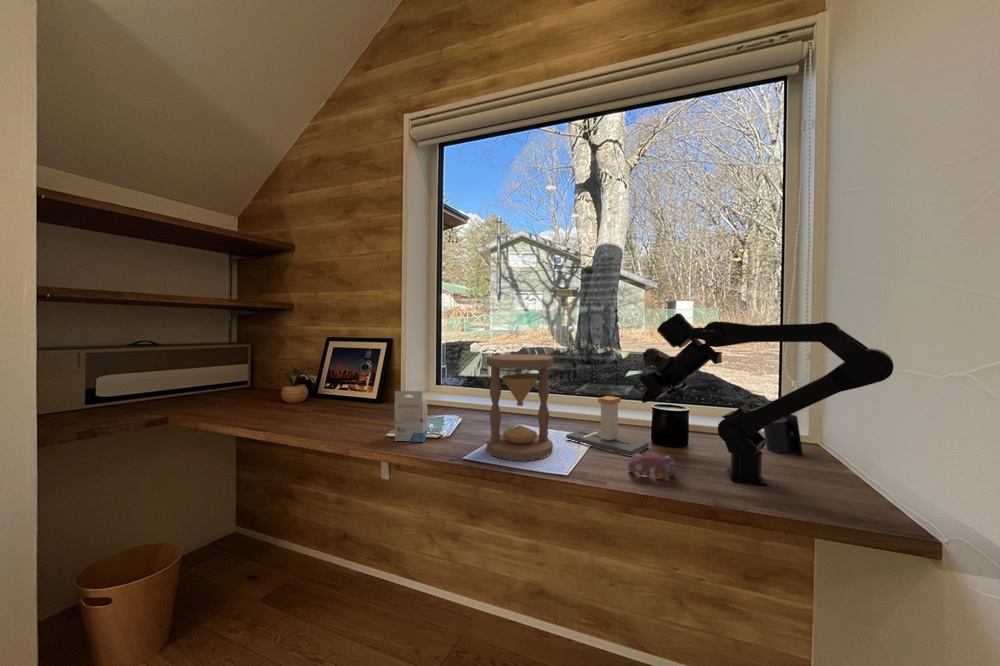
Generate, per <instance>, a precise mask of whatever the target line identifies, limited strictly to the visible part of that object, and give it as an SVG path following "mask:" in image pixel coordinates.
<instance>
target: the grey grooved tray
mask: <svg viewBox="0 0 1000 666" xmlns="http://www.w3.org/2000/svg"><path fill="white" fill-rule="evenodd" d="M565 436H566V437H565V439H566V438H568V439H571V440H575V441H578V442H582V443H586V444H589V445H592V446H595V447H599V448H603V449H607V450H612V451H615V452H619V453H623V454H628V455H633V454H635V453H637V452H639V451H641V450H643V449H645V448H647V447H649V446H650V445H649V443H650V442H647V441H643V440H638V439H636V438H635V439H634V438H629V437H625V436H620V435H618V438H616V439H613V440H611V441H610V440H606V439H601V431H599V430H595V429H590V428H586V427H585V428H582V429H579V430H576V431H573V432H571V433H568V434H565ZM595 447H594V448H595ZM599 448H598V449H599Z"/></svg>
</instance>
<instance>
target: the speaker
mask: <svg viewBox="0 0 1000 666" xmlns="http://www.w3.org/2000/svg"><path fill="white" fill-rule="evenodd" d="M798 420H799V419H798V416H797V415H794V414H790V415H788V416H786V417H784V418H782V419H779V420H777V421H775V422H773V423H771V424H768V425H767V426H766V427H764V428H763V432H764V438H765V439H766V440H767V442H766V444H765V446H766V450H767V451H768V452H770V451H771V453H776V454H788V453H790V452H792V453H794V454H796V455H797V454H798V456H799V457H804V454H803V448H802V442H801V441H802V439H801V434H800V428H799V421H798Z"/></svg>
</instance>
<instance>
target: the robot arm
mask: <svg viewBox="0 0 1000 666" xmlns="http://www.w3.org/2000/svg"><path fill="white" fill-rule="evenodd" d="M656 332H657V333H658V334H659V335H660V336H661V337H662V338H663V339H664V340H665V341H666V342H667V343H668V344H669V345H670V346H671V347H672V348H677V347H678V348H679V349H681V348H682V349H681V350H680V351H679V352H678V353H677V354H676V355H673V356H672V355H671V356H670V355H669V354H667V353H665V352H663V351H661V350H659V349H657V348H654V347H651V348H649V347H648V348H647V349H645V351H643V352H642V357H643V358H642V361H643V362H645V363H649V364H650V365H652V366H654V367H655V371H651V370H650V371H645V372H643V373H642V374H640V376H638V380H639V381H640V383H641V384H642V385H643V386H644V387H645V388H646V390H645V392H644V394H643V395H642V398H641V399H640V401H641V402H642V403H643V404H645V403H648V402H651V401H654V400H657V399H661V398H664V397H666V396H670V395H673V394H675V393H676V391H675V389H676V388H679V390H680V391H684V390H686V389H687V388H689V387H690V386H691V379H690V378H691V377H694V376H695V375H697V372H698V371H699V370H700V369H701V368H702V367H704V366H705V365H706V364H707V363H708V362H710V361H711V362H712V363H713V364H715V365H719V364H722V363H723V360H722V355H723V351H716V350H715V349H713V348H720V347H728V346H734V345H743V344H748V343H821V344H822V345H824V346H825V347H826V348H827V349H828V350H829V351H831V352H832V353H833V354H835V355H836V356H837V357H838V358H839V359H840V360H841V361H843V362H841V363H840V364H838V366H836V367H835V368H834V369H832V370H830V371H829V372H827V373H826V374H825V375H823V376H821V377H818V378H816V379H815V380H812V381H810V382H809V383H807V384H805V385H803V386H800V387H798V388H797V389H794V390H792V391H791V392H788V393H786V394H784V395H782V396H780V397H778V398H775V399H774V400H772V401H770V402H768V403H765V404H764V405H762V406H758V407H754V408H750V407H749V405H748V404H747V403H746V404H744V405H742V406H740V407H738V408H737V409H736V410H734V411H733V410H731V411H729V412H727V413H726V414H724V415H722V418H723V419H722V420H721V421H720V422H718V425H717V434H718V435H719V438H721V440H722V441H723V442H724V444H725V446H726V448H727V451H728V453H730V468H726V469H725V470H726V474H727V475H728V478H729V479H730V481H731V482H734V483H741V484H749V485H755V486H756V485H758V486H766V487H767V486H768V482H767V481H766V479H765V478H764V477H763V476H762V475H763V473H762V472H763V471H762V470H763V452H762V451H761V450H763V449H764V448H765V446H766V442H767V440H766V439H765V436H763V435H762V434H761V433H760V431H762V430H764V427H766V426H767V425H768V424H771V423H773V422H775V421H777V420H779V419H782V418H784V417H786V416H788V415H790V414H792V415H794V413H797V412H799V411H801V410H803V409H806V408H807V407H810V406H812V405H815V404H817V403H819V402H821V401H822V400H825V399H828V398H830V397H831V396H834V395H836V394H839V393H841V392H844V391H850V390H855V389H858V388H863V387H865V386H866V387H867V386H871V385H873V384H877V383H881V382H884V381H885V380H886V379H888V378H890V377H891V375H892V374H893V371H894V361H893V359H892V357H891V356H890V355H889V354H888V353H887V352H885V351H883V350H880V349H877V348H869V347H868V346H866V345H865V344H864V343H862V342H861V341H859V340H858V339H856V338H854V337H853V336H851V335H850V334H849V333H847V332H846V331H844V330H843V329H841V327H840V326H839V325H837V324H836V323H833V322H832V321H831V322H829V321H823V322H822V321H821V322H819V323H793V324H792V323H790V324H789V323H787V324H756V325H755V324H747V323H740V322H732V321H731V322H730V321H715V320H714V321H711V322H708V323H707V324H706V325H705V326H704V327H694V326H693V325H692V324H691V323H690V322H689V321H688V320H687V319H686V318H685V316H684V315H683V314H682V313H677V312H676V313H675V314H673V316H671V317H669V318H668V319H666V320H665V321H662V322H661V324H660V325H659V326H658V327H657V329H656ZM701 341H704V342H701ZM683 347H684V348H683ZM712 347H713V348H712Z"/></svg>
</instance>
